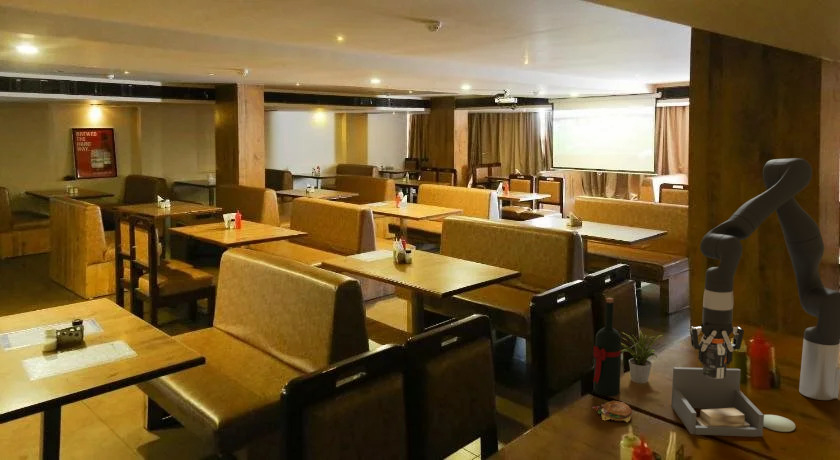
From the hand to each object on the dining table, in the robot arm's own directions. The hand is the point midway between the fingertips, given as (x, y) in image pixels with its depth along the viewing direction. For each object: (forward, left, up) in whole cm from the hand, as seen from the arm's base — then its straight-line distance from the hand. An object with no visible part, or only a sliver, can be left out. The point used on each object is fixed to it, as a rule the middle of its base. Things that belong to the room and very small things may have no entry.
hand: (714, 362), depth 174 cm
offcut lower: (0, +7, -16) cm, 18 cm away
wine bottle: (+27, -14, -16) cm, 34 cm away
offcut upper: (0, +7, -14) cm, 16 cm away
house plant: (+13, -26, -16) cm, 33 cm away
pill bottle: (0, 0, -4) cm, 4 cm away
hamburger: (+28, +1, -17) cm, 33 cm away
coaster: (-16, +4, -16) cm, 23 cm away
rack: (0, +3, -16) cm, 16 cm away
